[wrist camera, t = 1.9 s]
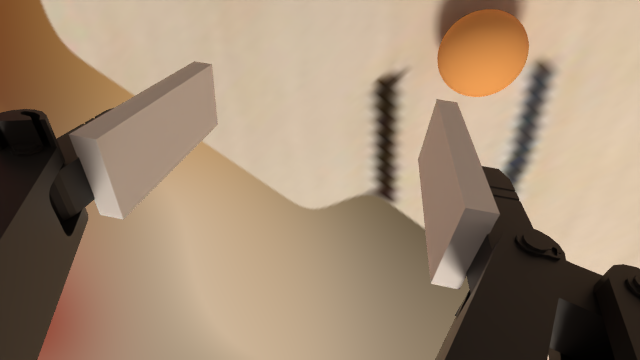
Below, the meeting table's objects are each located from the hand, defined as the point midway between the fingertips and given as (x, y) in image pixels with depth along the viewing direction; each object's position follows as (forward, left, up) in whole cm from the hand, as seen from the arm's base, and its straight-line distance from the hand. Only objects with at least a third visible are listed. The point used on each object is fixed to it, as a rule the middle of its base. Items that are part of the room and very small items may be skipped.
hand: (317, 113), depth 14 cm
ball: (0, +10, -14) cm, 17 cm away
